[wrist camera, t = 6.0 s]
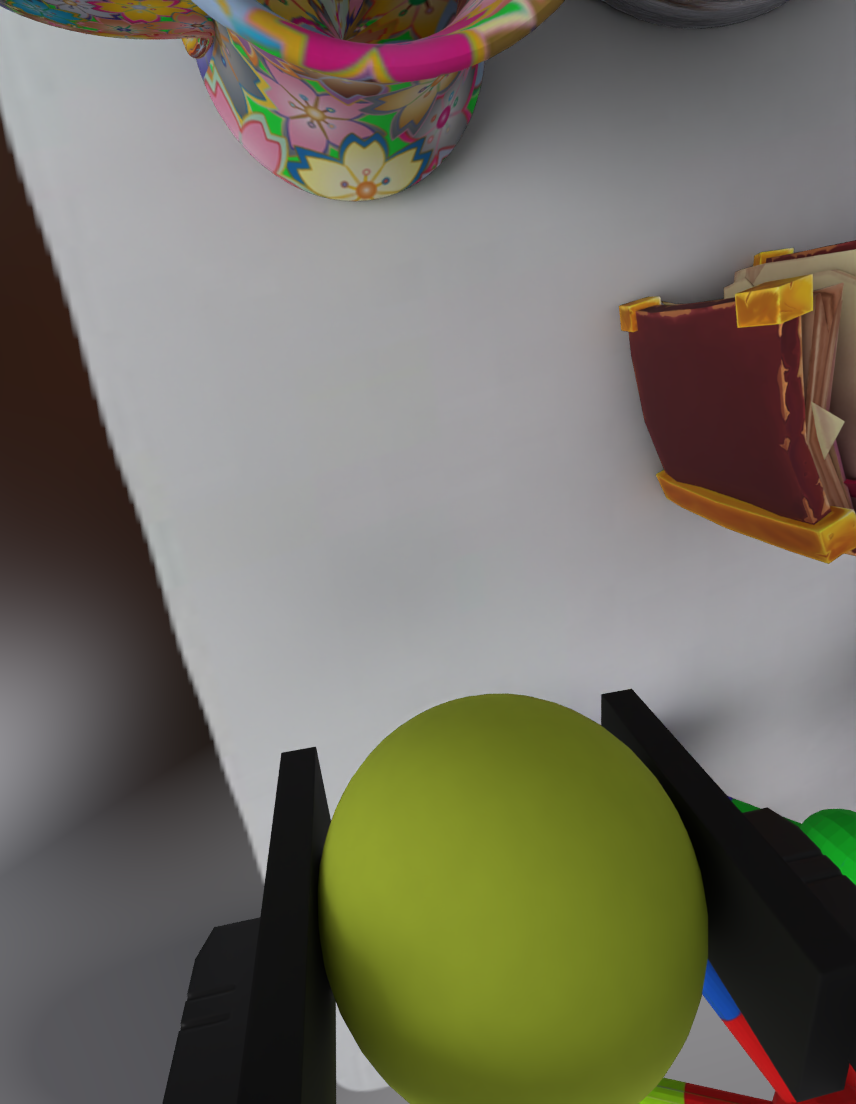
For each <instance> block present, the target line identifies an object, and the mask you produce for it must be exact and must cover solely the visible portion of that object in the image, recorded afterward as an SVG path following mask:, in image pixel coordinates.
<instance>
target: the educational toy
mask: <svg viewBox="0 0 856 1104" xmlns="http://www.w3.org/2000/svg"><path fill="white" fill-rule="evenodd" d="M728 798H729V799H730V800H731V801H732V802H733V803H734V804H735V805H736V807H737V808H738V809H739V810H740V811H741V812H742V813H744V812H748V811H753V810H758V809H760V808H758V807H755V806H752V805H750V804H747V803H744V802H742V801H739V800H736V799H734V798H731V797H728ZM784 818H785V817H784ZM785 819H787V818H785ZM787 820H789V821H790V822H792V823H793V824H795V825H797V826H798V827H799V828H800V829H801V830H802V831H803V832H804V833H805V834H806V835H807V836H808V837H809V838H810V839H811V840H812V841H813V842H814V843H815V844H816V845H817V846H818V847H819V848H820V849H821V852H822V854H823V855H826V856H827V857H828V858H829V859H830V860H831V861H832V862H833V863H834V864H835V865H836V866H837V867H838V868H839V869H840V870H841V873H842V875H846V876H847V877H848V878H849V879H850V880H851V881H852V882H853V883H854V884H855V885H856V812H853V811H851V810H845V809H827V810H821V811H819V812H817V813H814V814H812V815H811V816H809V817H808V818H807V819H806V820H805V821H804V822H803V823H802V824H801V823H798V822H795V821H793V820H790V819H787ZM702 995H703V996H704V997H705V998H706V1000H707V1001H708V1002H709V1004H710V1005H711V1006H712V1008H713V1009H714V1010H715V1012H716V1013H717V1014H718V1016H719V1017H720V1018H721V1019H722V1021H723V1022H724V1024H725V1025H726V1026H727V1027H728V1029H729V1030H730V1031H731V1033H732V1034H733V1035H734V1037H735V1038H736V1039H737V1040H738V1042H739V1043H740V1045H741V1046H742V1047H743V1049H744V1050H745V1051H746V1052H747V1054H748V1055H749V1056H750V1058H751V1059H752V1060H753V1061H754V1063H755V1064H756V1065H757V1067H758V1068H759V1070H760V1071H761V1072H762V1073H763V1075H764V1076H765V1077H766V1079H767V1080H768V1081H769V1083H770V1084H771V1085H772V1087H773V1088H774V1089H775V1094H774V1097H773V1101H768V1100H763V1099H759V1098H754V1097H749V1096H745V1095H740V1094H736V1093H731V1092H727V1091H722V1090H718V1089H713V1088H708V1087H704V1086H699V1085H694V1084H690V1083H685V1082H681V1081H676V1080H672V1079H667V1078H662V1080H661V1081H660V1082H659V1083H658V1085H657V1086H656V1087H655V1088H654V1089H653V1090H652V1091H651V1092H650V1093H649V1094H648V1095H647V1096H646V1097H645V1098H644V1099H643V1100H642V1101H641V1102H639V1103H638V1104H856V1072H855V1070H854V1069H853V1067H852V1066H851V1065H849V1070H848V1074H847V1078H846V1083H845V1087H844V1090H841V1091H838V1092H834V1093H830V1094H827V1095H823V1096H820V1097H816V1098H812V1099H809V1100H805V1101H801V1102H798V1103H797V1102H796V1100H795V1099H794V1097H793V1096H792V1094H791V1092H790V1091H789V1089H788V1088H787V1086H786V1084H785V1083H784V1081H783V1079H782V1078H781V1076H780V1075H779V1073H778V1071H777V1070H776V1068H775V1067H774V1065H773V1063H772V1062H771V1060H770V1058H769V1057H768V1055H767V1054H766V1052H765V1050H764V1049H763V1047H762V1046H761V1044H760V1042H759V1041H758V1039H757V1037H756V1036H755V1034H754V1033H753V1031H752V1029H751V1028H750V1026H749V1025H748V1023H747V1021H746V1020H745V1018H744V1016H743V1015H742V1013H741V1012H740V1010H739V1008H738V1007H737V1005H736V1004H735V1002H734V1000H733V999H732V997H731V995H730V994H729V992H728V991H727V989H726V987H725V986H724V984H723V982H722V981H721V979H720V978H719V976H718V974H717V973H716V971H715V970H714V968H713V966H712V965H711V963H710V961H709V960H707V966H706V973H705V979H704V985H703V991H702Z"/></svg>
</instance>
